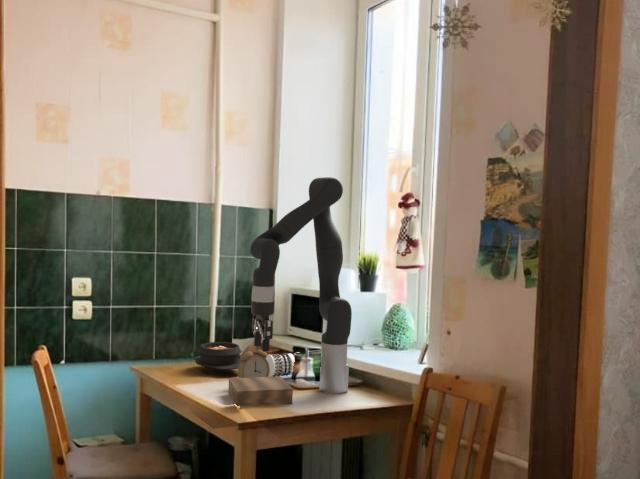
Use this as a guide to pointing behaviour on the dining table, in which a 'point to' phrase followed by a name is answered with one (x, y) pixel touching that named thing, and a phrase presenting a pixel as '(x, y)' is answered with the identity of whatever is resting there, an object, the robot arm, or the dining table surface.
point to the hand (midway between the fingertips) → (261, 348)
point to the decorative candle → (281, 364)
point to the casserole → (219, 356)
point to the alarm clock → (253, 364)
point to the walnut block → (260, 391)
